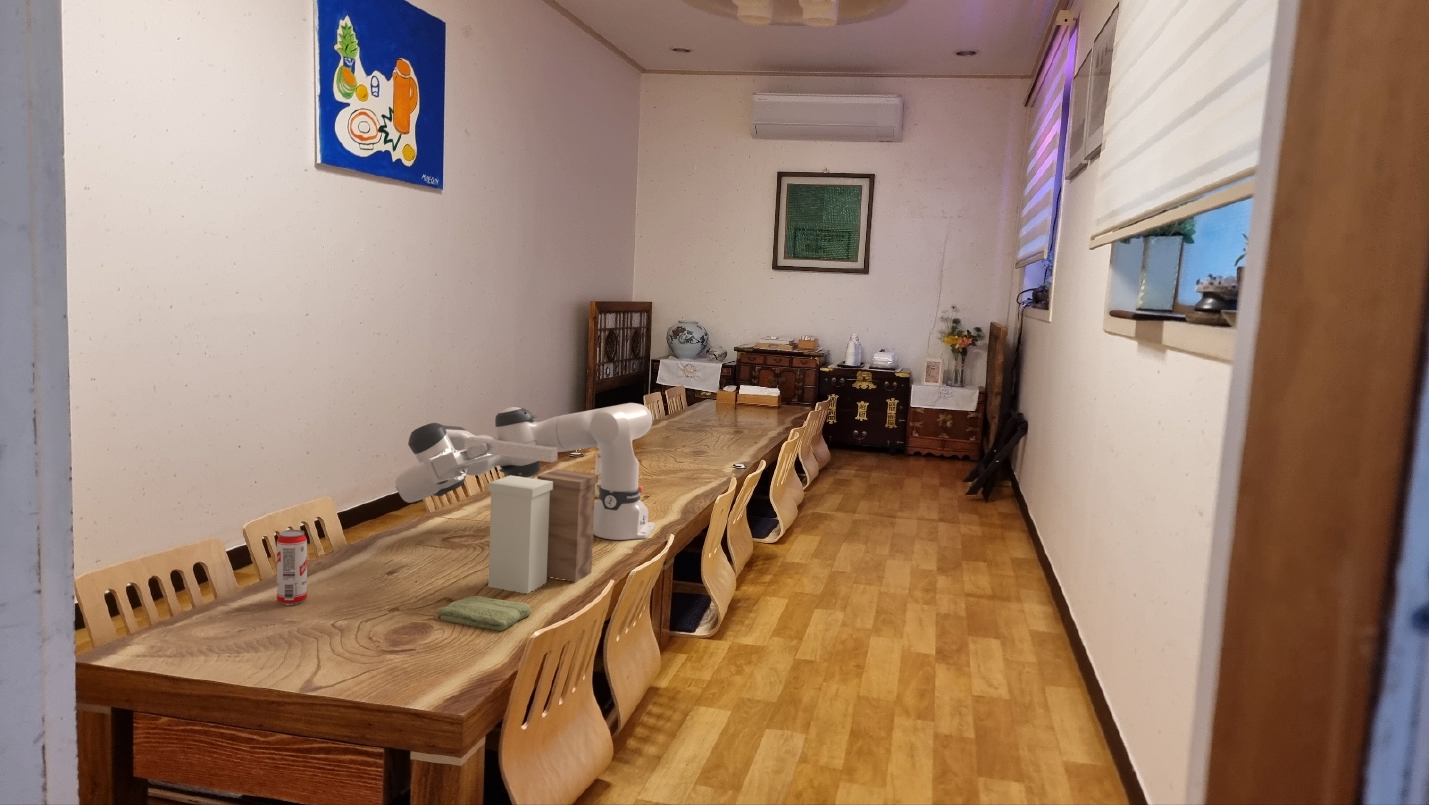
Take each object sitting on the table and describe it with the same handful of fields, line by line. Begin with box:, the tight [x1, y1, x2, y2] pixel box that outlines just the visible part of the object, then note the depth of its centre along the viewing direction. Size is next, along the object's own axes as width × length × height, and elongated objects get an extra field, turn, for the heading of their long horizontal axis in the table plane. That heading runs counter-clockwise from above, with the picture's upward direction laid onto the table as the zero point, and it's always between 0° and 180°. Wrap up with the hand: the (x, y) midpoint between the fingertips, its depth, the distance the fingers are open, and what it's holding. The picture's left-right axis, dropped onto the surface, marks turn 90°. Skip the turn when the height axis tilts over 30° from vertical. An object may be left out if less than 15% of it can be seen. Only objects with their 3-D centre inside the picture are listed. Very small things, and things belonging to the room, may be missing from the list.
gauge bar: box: [464, 437, 559, 463], centre depth 232 cm, size 3×24×3 cm, turn 71°
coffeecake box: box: [594, 446, 601, 498], centre depth 335 cm, size 15×7×20 cm, turn 179°
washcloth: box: [436, 595, 532, 632], centre depth 214 cm, size 13×18×3 cm
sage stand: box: [487, 475, 553, 595], centre depth 234 cm, size 10×12×26 cm
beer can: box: [276, 529, 308, 606], centre depth 215 cm, size 6×6×16 cm
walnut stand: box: [536, 468, 598, 583], centre depth 245 cm, size 10×12×26 cm
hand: (491, 445), depth 234 cm, fingers closed on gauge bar, 3 cm apart
